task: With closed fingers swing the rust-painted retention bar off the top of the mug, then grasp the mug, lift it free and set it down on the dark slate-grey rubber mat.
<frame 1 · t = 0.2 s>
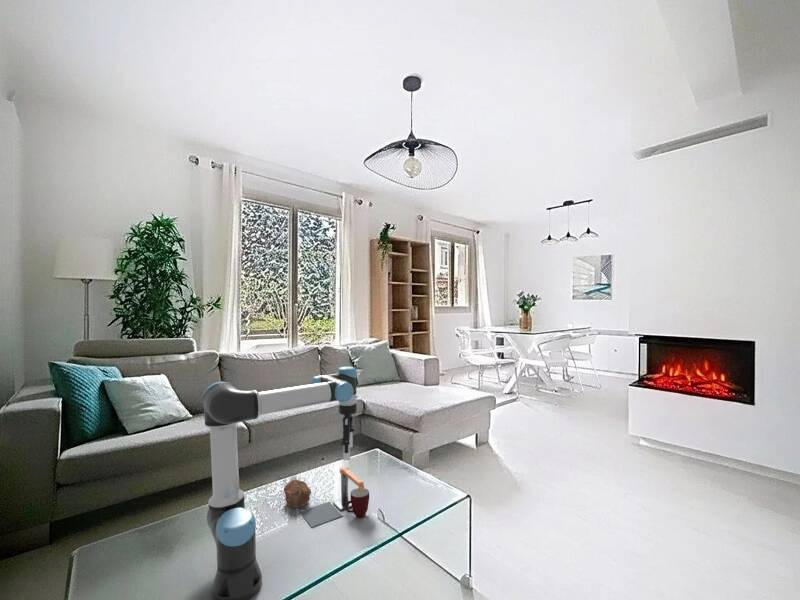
hand: (348, 453, 164), 28 cm above the table, fingers open, 13 cm apart
mat: (320, 514, 168), on the table
mug: (357, 516, 166), on the table
clip post: (344, 504, 175), on the table
decorative rock: (297, 503, 177), on the table
retention clip: (351, 478, 169), point 15 cm above the table, hinge at 0.0°
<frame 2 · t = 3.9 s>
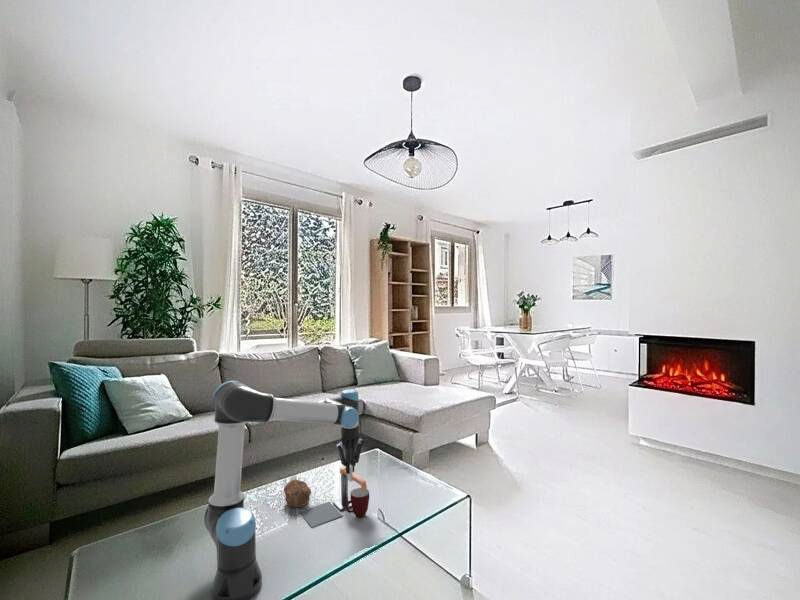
hand: (350, 480, 168), 15 cm above the table, fingers closed
retention clip: (352, 478, 170), point 15 cm above the table, hinge at 4.6°, touching gripper
everything else where it was.
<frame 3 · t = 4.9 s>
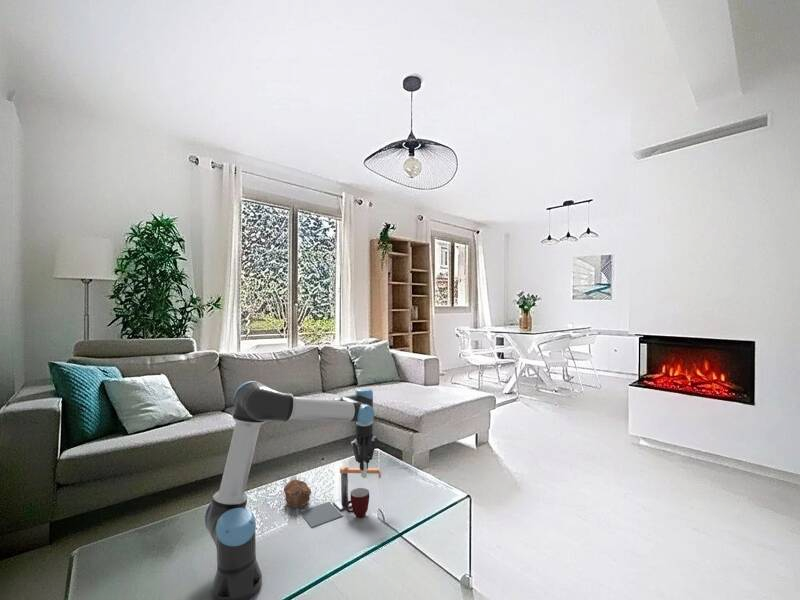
hand: (363, 476, 172), 14 cm above the table, fingers closed
retention clip: (360, 472, 175), point 15 cm above the table, hinge at 51.9°, touching gripper
everything else where it was.
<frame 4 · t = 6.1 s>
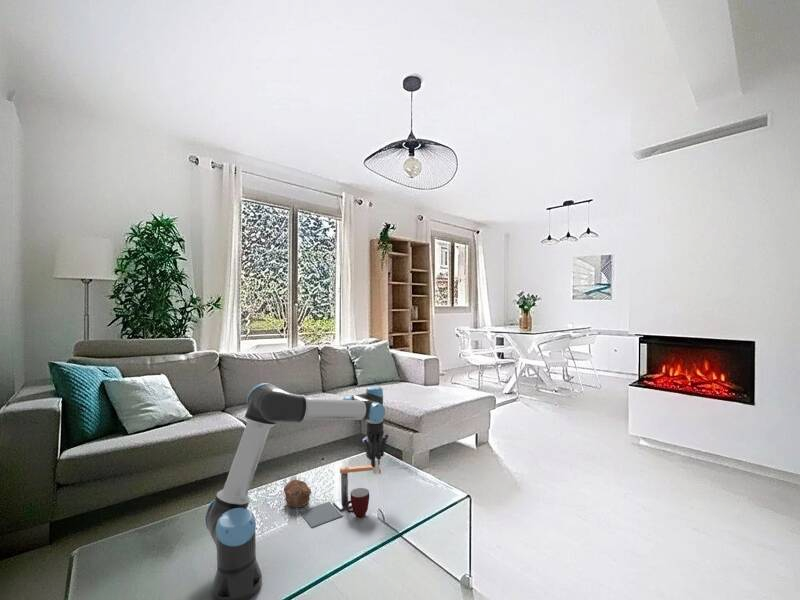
hand: (375, 473, 175), 14 cm above the table, fingers closed
retention clip: (360, 470, 177), point 15 cm above the table, hinge at 66.1°, touching gripper
everything else where it was.
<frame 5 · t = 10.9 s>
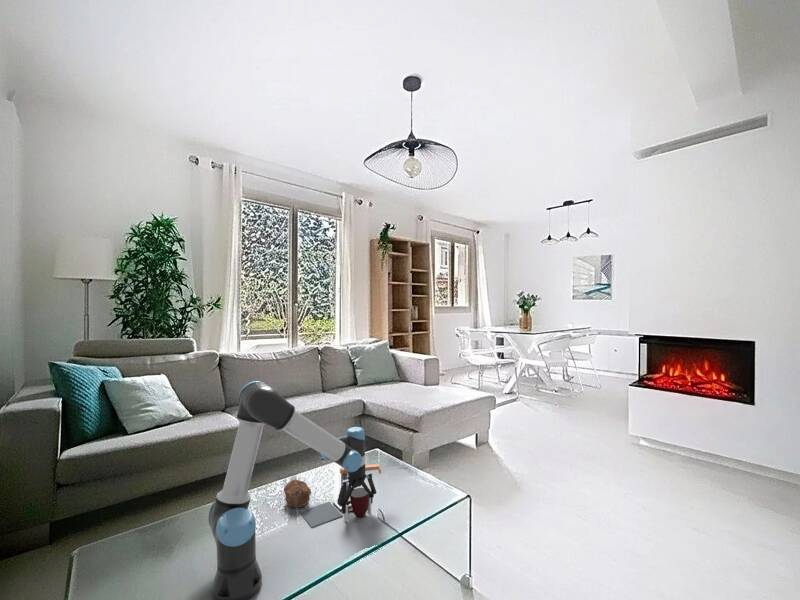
hand: (357, 515, 166), 0 cm above the table, fingers closed on mug, 10 cm apart
mug: (357, 516, 166), on the table, touching gripper
retention clip: (360, 470, 177), point 15 cm above the table, hinge at 66.7°
everything else where it was.
when the fingers open (1 cm above the table, at t = 17.1 s): mug stays where it is, resting on mat.
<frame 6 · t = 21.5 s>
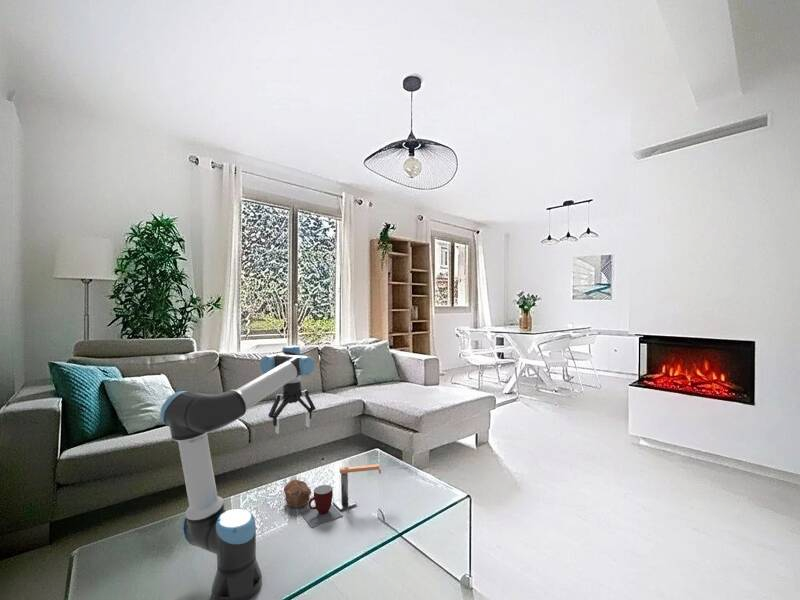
hand: (292, 429, 169), 37 cm above the table, fingers open, 13 cm apart
mug: (320, 513, 168), resting on mat
everything else where it was.
at the end: retention clip at +67° (first picture: +0°); mug inside the target area on the mat (0.4 cm from its centre), point 0.2 cm above the mat's base; mug tilted 0° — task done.
